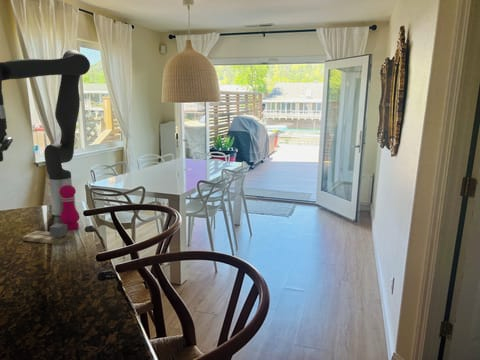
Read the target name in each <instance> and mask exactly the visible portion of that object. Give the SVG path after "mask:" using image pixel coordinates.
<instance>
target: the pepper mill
mask: <svg viewBox="0 0 480 360" xmlns="http://www.w3.org/2000/svg"><path fill="white" fill-rule="evenodd" d="M76 191H77V190H76V188H75V187H74V186H73V185H72V186H71V185H69V182H65V186H62V187H61V188H60V191H59V193H60V195H61V196H62V198H61V199H62V201H63V210H62V213H61V216H59V217H60V219H59V220H60V222H61V223H62V224H67V231H73V230H77V229H79V226H80V225H79V224H80V223H79V222H78V221H79V220H80V214H79V212H78V210H77V209H76V208H75V207H76V205H75V206H74V200H75V201H76V198H75V197H76V195H75V194H76ZM74 195H75V196H74Z"/></svg>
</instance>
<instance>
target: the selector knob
mask: <svg viewBox="0 0 480 360" xmlns="http://www.w3.org/2000/svg"><path fill="white" fill-rule="evenodd" d="M49 232H50V237H56V238H60V237H62V236H64V235H66V234H69V233H68V230H67V224H63V223H62V222H61V223H60V222H59V223H58V222H57V223H55V224H52V225H51V226H49Z"/></svg>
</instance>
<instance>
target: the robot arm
mask: <svg viewBox="0 0 480 360" xmlns="http://www.w3.org/2000/svg"><path fill="white" fill-rule="evenodd" d="M90 68H91V62H90V60H89V59H88V57H86V55H84V54H83V53H81V52H80V51H78V50H76V49H69V50H66V52H64V53H63V55H62V57H61V58H53V59H51V58H48V59H47V58H46V59H45V58H43V59H42V58H41V59H40V58H24V59H23V58H22V59H13V60H11V59H10V60H8V61H3V62H0V163H1V162H3V161H4V154H3V153H4V152H5V151H8V149H9V147H10V146H11V144H12V142H13V138H11V137H9V136H8V133H7V131H6V130H7V129H8V125H7V123H8V122H7V115H6V109H5V105H4V103H5V102H4V94H3V92H2V91H3V90H2V89H3V86H2V85H3V84H2V81H9V80H21V79H22V80H23V79H27V78H37V77H45V76H46V77H47V76H61V78H60V85H59V87H58V93H57V99H56V103H55V112H54V116H55V121H56V123H57V124H58V126H59V129H60V133H61V135H60V141H59V143H51V144H48V145H46V147H45V148H44V151H43V152H44V156H43V157H44V162H45V167H46V173H47V176H48V178H49V179H48V180H49V188H50V189H49V191H50V201H51V209H52V211H51V212H52V215H53V216H56V217H60V216H61V213H62V210H63V201H62V199H61V198H62V196H61V195H60V193H59V191H60V188H61V187H62V186H65V182H69V185H71V186H73V182H72V172H71V171H70V170H67V169H64V168H63V166H62V165H63V164H65V163H69V162H71V160H73V157H74V154H75V153H74V152H75V139H76V138H75V137H76V128H77V122H78V117H79V114H80V107H81V105H80V104H81V99H80V89H79V88H80V86H79V83H80V77H81V76H83V75H86V74H87V73H88V72H89V70H90ZM74 196H75V197H76V195H74ZM74 206H75V208H76V199H75V200H74Z"/></svg>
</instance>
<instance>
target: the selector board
mask: <svg viewBox="0 0 480 360" xmlns="http://www.w3.org/2000/svg"><path fill="white" fill-rule="evenodd" d="M71 239H73V233H68V234H66V235H64V236H62V237H60V238H56V237H50V231H45V230H34V231H33V232H30V233H28V234H26V235H24V236H22V240H23V241H24V242H25V241H27V242H33V243H34V242H36V243H43V244H53V245H62V244H64V243H65V242H67V241H69V240H71Z"/></svg>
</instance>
